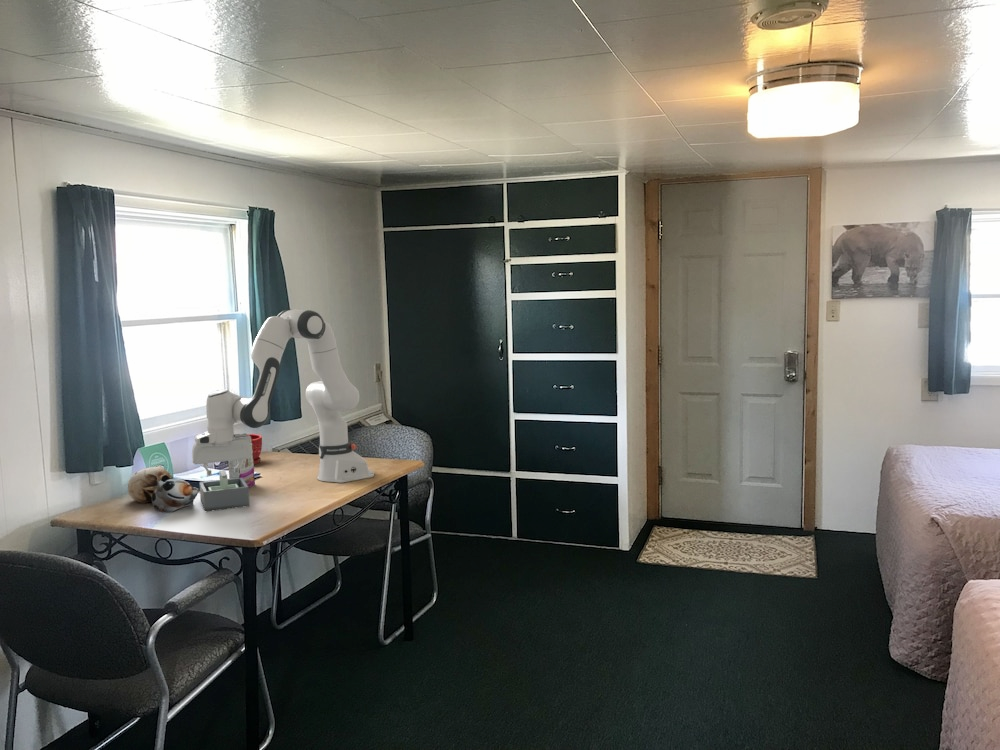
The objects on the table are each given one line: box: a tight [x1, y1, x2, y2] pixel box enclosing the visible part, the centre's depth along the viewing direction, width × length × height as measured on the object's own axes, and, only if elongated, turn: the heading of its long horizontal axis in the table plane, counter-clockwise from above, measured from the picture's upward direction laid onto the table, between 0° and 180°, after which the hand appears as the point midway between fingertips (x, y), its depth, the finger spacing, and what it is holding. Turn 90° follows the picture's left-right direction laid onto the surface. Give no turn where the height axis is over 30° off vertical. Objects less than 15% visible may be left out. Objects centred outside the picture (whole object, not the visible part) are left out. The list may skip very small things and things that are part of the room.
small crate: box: [208, 469, 238, 491], centre depth 296 cm, size 10×10×10 cm
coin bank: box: [127, 466, 174, 504], centre depth 302 cm, size 16×17×13 cm
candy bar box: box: [227, 444, 256, 488], centre depth 318 cm, size 11×5×16 cm, turn 168°
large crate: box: [199, 478, 250, 512], centre depth 297 cm, size 15×15×7 cm
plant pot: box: [247, 433, 263, 465], centre depth 358 cm, size 13×13×12 cm
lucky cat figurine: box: [151, 478, 200, 513], centre depth 291 cm, size 15×12×14 cm
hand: (223, 473), depth 296 cm, fingers open, 8 cm apart
